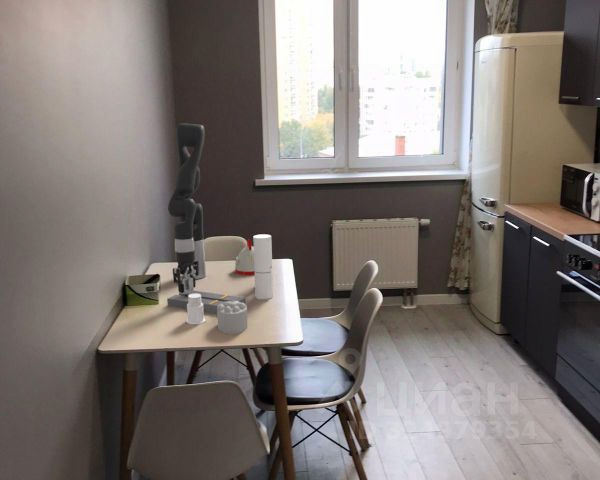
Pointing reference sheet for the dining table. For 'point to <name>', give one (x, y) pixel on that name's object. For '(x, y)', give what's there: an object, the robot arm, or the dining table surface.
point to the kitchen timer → (245, 261)
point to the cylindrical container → (263, 266)
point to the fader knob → (188, 286)
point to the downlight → (195, 309)
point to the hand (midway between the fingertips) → (187, 289)
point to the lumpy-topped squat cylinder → (232, 317)
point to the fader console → (204, 300)
